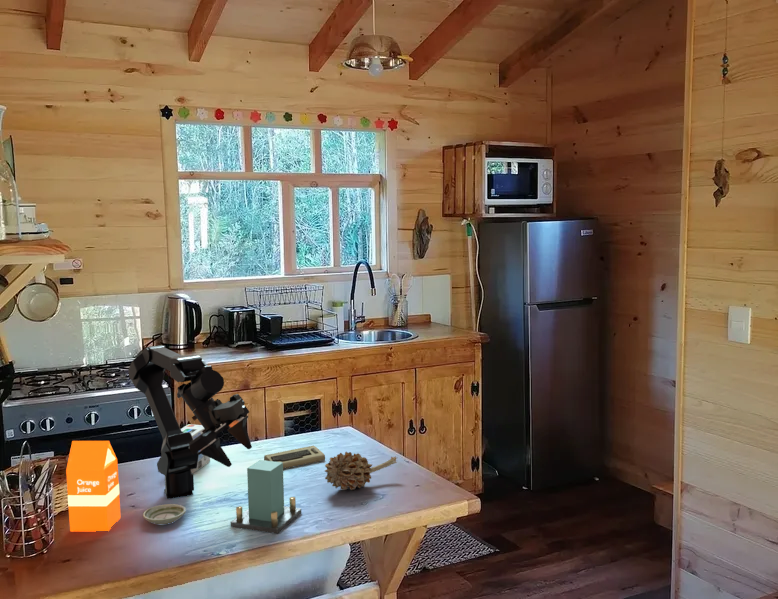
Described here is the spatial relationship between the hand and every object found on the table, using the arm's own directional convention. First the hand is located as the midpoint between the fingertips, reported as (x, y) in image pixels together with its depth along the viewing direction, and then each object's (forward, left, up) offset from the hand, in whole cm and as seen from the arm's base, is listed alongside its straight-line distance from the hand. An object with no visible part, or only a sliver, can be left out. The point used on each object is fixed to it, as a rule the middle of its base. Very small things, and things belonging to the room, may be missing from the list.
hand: (240, 457), depth 180 cm
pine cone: (+32, +2, -13) cm, 35 cm away
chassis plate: (+4, -9, -13) cm, 16 cm away
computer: (+21, +28, -14) cm, 38 cm away
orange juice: (-33, +4, -13) cm, 36 cm away
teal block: (+4, -9, -12) cm, 15 cm away
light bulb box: (-7, +36, -13) cm, 39 cm away
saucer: (-18, 0, -13) cm, 22 cm away
